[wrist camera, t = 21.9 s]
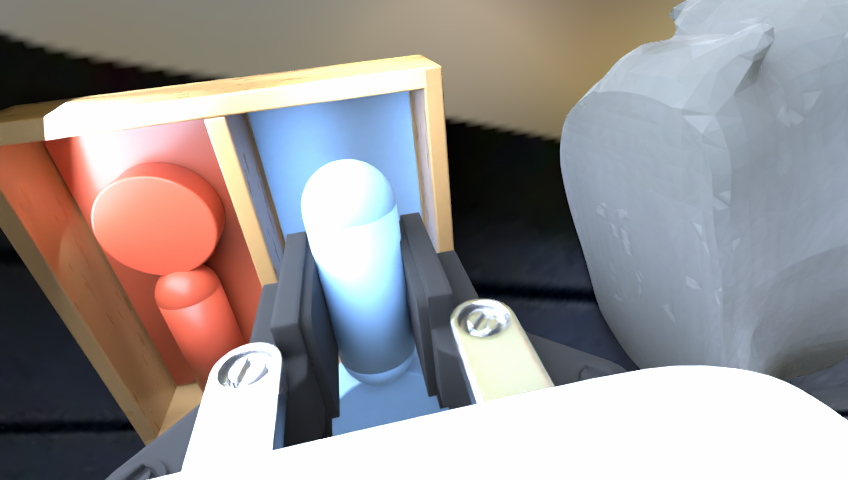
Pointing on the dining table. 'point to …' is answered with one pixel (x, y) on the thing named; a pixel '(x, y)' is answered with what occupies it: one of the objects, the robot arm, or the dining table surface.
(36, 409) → the dining table surface
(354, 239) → the blue disc-ended peg
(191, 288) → the red knob peg
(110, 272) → the caddy
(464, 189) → the dining table surface
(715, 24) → the rock
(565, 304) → the dining table surface
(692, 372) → the robot arm
